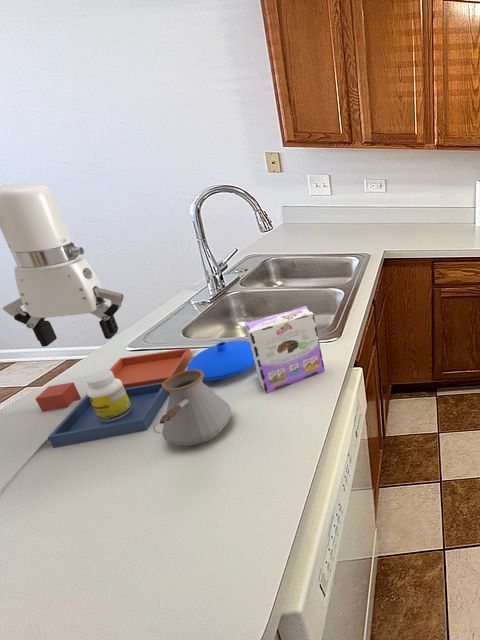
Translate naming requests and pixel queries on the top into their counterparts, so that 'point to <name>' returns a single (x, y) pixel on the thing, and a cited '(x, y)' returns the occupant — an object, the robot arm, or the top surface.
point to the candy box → (285, 348)
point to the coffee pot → (192, 410)
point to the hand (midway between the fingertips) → (81, 339)
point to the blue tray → (89, 427)
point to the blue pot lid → (223, 360)
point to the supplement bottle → (108, 396)
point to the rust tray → (150, 367)
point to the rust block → (57, 396)
